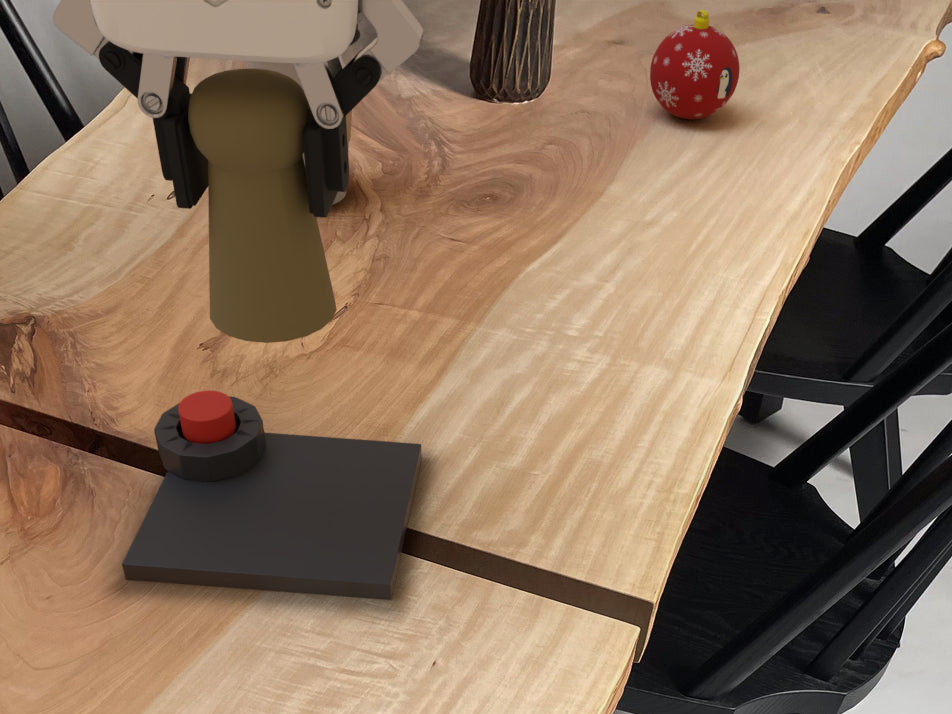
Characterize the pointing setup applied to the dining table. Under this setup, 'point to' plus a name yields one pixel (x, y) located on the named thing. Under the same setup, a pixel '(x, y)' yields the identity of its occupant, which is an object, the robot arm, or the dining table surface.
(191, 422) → the scale button
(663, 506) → the dining table surface
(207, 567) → the dark grey button base
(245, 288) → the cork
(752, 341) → the dining table surface
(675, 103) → the christmas ornament
